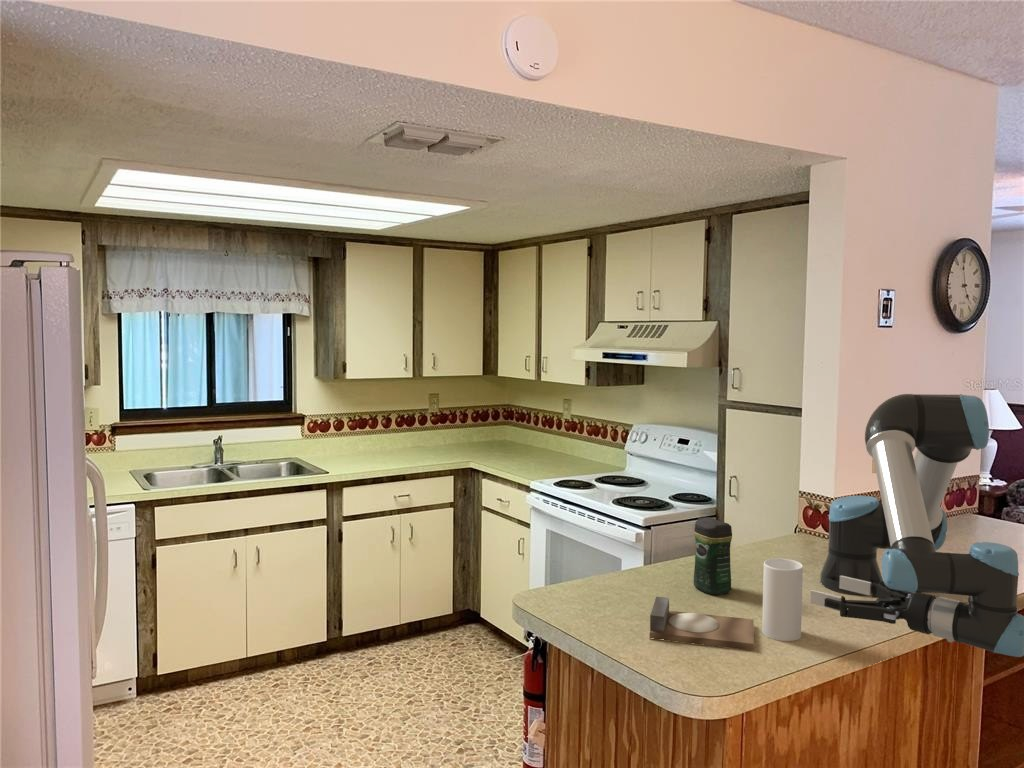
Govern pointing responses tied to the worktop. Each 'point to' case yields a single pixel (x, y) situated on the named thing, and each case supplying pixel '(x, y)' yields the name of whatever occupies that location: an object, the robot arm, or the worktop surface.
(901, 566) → the robot arm
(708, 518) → the coffee jar
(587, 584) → the worktop surface
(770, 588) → the cup
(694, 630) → the board
